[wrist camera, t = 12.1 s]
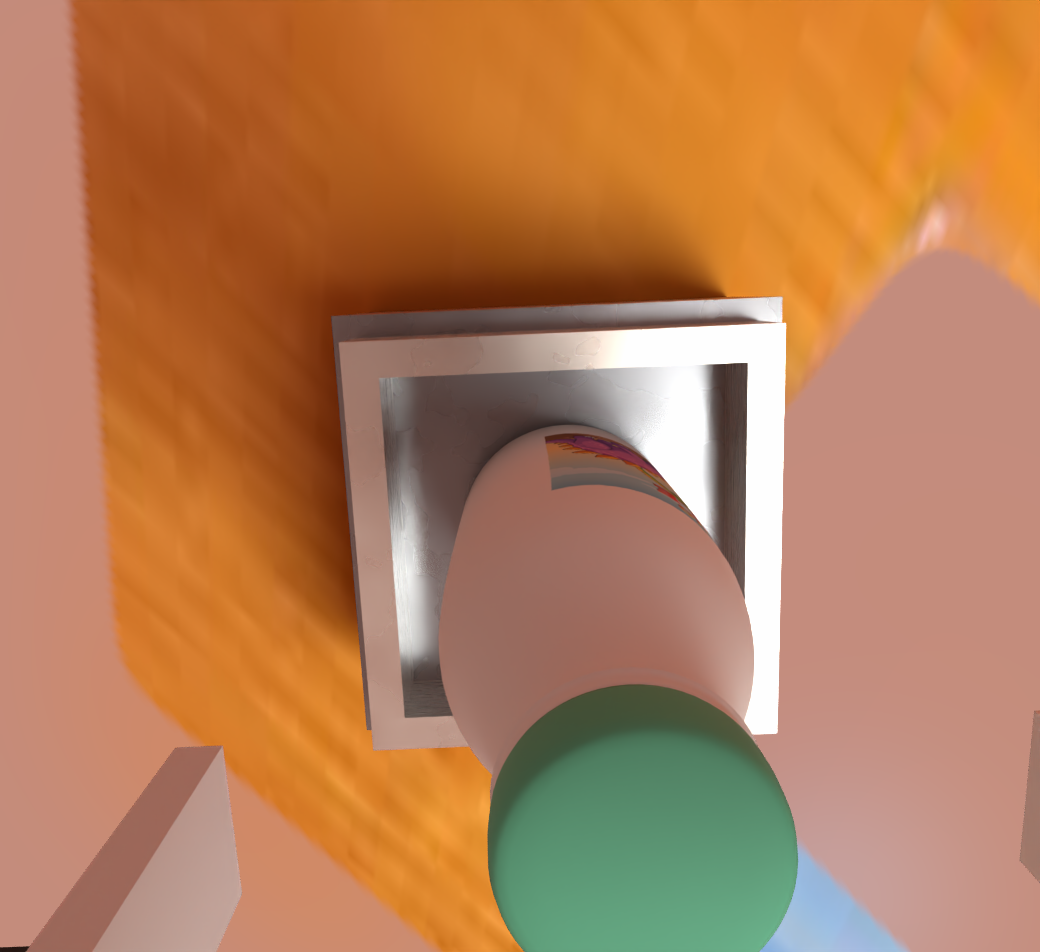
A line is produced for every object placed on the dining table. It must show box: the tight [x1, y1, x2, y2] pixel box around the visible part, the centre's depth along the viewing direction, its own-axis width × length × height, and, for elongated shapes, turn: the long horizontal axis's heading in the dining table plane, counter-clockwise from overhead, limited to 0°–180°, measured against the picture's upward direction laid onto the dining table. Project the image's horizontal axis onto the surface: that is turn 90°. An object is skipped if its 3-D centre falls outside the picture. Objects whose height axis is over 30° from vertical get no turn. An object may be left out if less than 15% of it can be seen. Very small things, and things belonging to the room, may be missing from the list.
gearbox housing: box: [331, 297, 786, 750], centre depth 34 cm, size 17×16×11 cm
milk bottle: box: [438, 425, 798, 952], centre depth 22 cm, size 8×8×20 cm
